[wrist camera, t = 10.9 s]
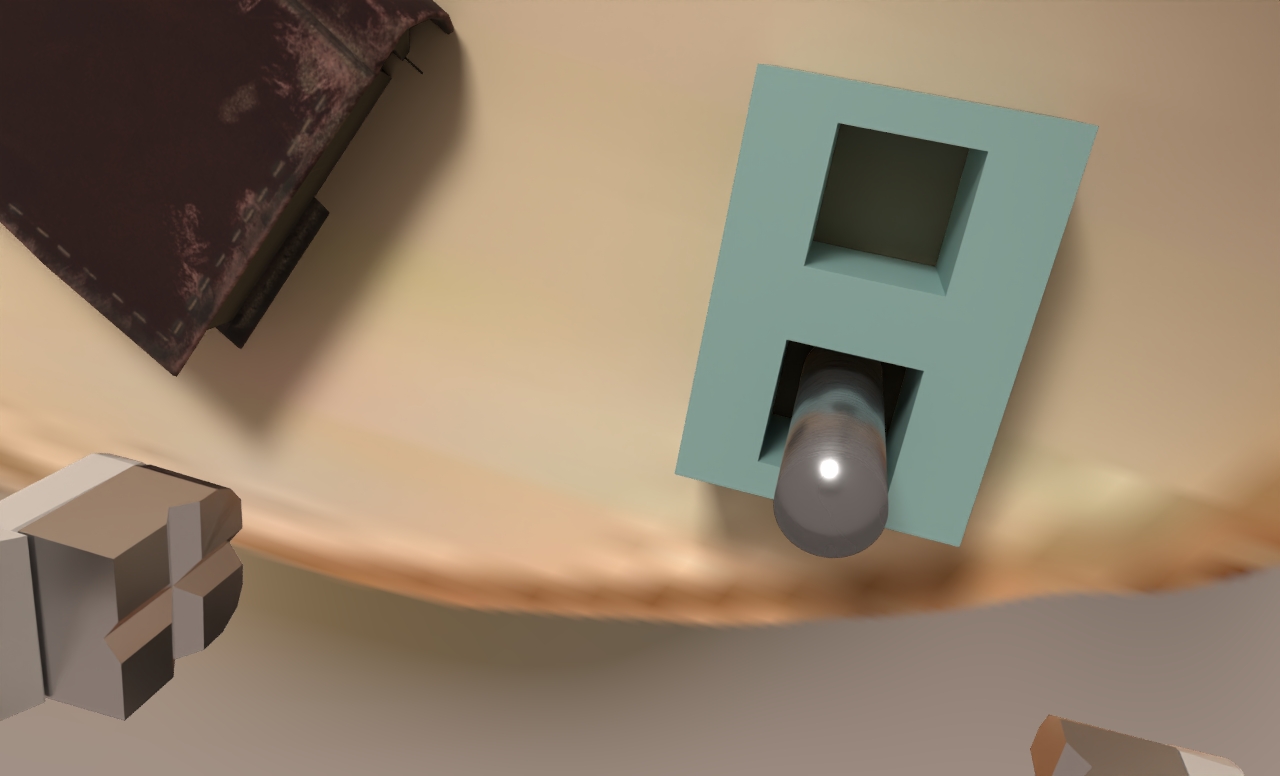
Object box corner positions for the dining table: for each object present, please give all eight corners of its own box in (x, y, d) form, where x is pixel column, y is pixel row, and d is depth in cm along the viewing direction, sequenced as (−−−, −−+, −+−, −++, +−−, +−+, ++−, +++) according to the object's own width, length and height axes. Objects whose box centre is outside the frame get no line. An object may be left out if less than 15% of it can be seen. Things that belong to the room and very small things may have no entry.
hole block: (773, 65, 33) (757, 63, 29) (1065, 118, 32) (1098, 125, 27) (698, 425, 38) (674, 474, 33) (948, 487, 36) (959, 547, 32)
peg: (812, 328, 36) (787, 442, 25) (891, 346, 35) (901, 470, 24) (794, 401, 37) (762, 541, 26) (871, 419, 36) (872, 570, 25)
